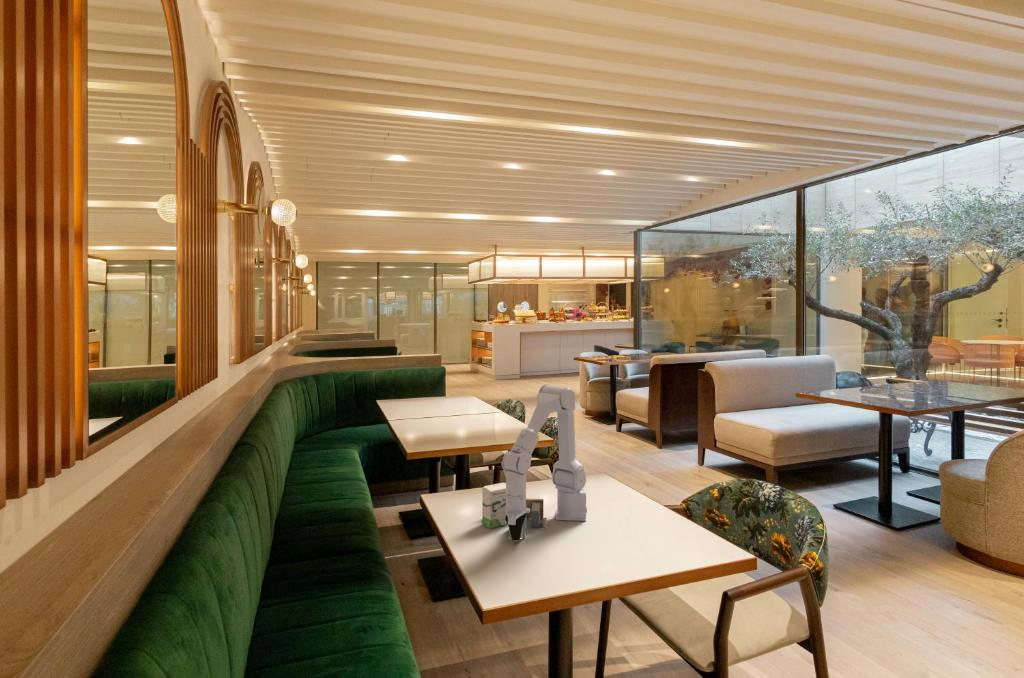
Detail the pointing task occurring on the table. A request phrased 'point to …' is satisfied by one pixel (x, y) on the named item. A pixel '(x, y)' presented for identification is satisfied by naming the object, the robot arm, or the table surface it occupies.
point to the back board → (529, 505)
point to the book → (522, 530)
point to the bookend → (537, 517)
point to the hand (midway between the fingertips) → (515, 539)
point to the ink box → (494, 505)
